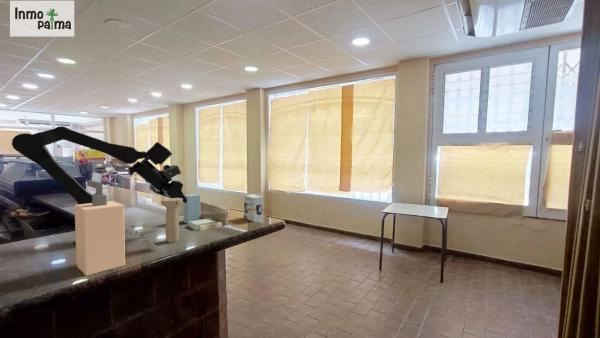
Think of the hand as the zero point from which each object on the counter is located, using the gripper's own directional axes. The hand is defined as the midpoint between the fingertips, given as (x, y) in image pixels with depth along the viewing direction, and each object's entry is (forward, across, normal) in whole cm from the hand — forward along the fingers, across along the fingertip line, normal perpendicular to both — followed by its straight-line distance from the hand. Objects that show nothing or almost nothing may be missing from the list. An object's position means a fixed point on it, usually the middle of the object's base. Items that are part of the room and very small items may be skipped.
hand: (181, 200), depth 110 cm
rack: (+12, -4, +3) cm, 13 cm away
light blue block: (+11, 0, +5) cm, 12 cm away
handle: (0, -19, +16) cm, 24 cm away
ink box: (+26, -13, -10) cm, 31 cm away
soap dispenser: (-14, -20, +30) cm, 38 cm away
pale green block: (+10, -9, +4) cm, 14 cm away
